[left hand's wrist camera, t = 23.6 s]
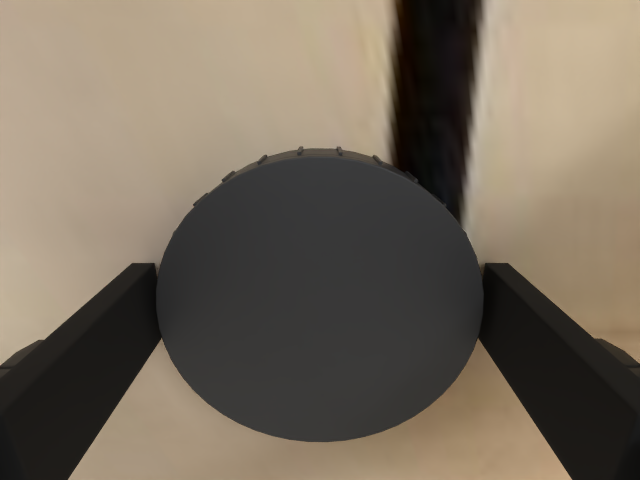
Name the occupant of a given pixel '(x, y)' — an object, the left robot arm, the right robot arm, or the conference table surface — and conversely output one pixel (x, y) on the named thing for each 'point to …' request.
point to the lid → (319, 296)
